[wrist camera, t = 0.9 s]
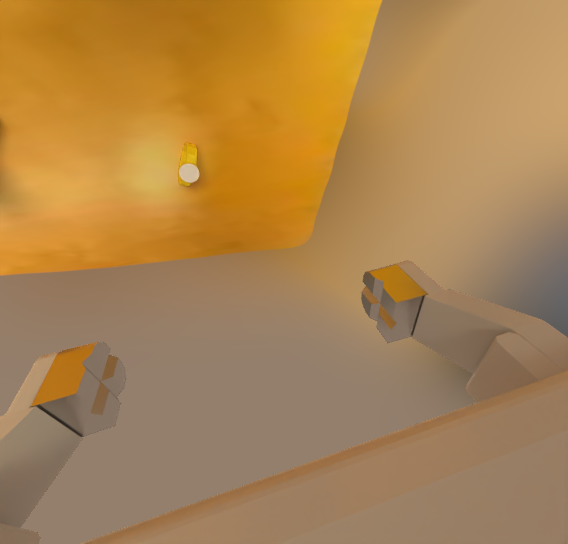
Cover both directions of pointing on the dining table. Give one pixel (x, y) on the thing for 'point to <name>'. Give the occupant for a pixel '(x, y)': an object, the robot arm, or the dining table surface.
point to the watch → (188, 165)
